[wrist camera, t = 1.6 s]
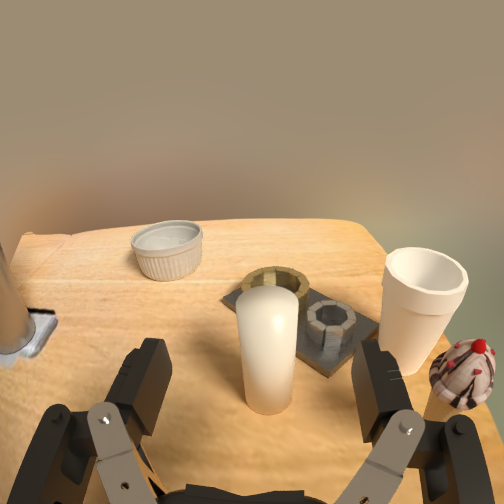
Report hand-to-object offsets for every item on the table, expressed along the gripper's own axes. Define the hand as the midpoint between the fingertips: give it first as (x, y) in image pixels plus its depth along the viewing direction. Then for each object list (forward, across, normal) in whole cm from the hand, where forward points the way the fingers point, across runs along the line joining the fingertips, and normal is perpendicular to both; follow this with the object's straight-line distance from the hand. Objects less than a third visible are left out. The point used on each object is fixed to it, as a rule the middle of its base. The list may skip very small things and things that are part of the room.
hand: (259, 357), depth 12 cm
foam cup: (+16, -16, +19) cm, 29 cm away
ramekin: (+39, +19, +18) cm, 47 cm away
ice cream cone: (+3, -14, +19) cm, 24 cm away
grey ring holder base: (+25, -3, +18) cm, 31 cm away
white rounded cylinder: (+11, 0, +18) cm, 21 cm away
